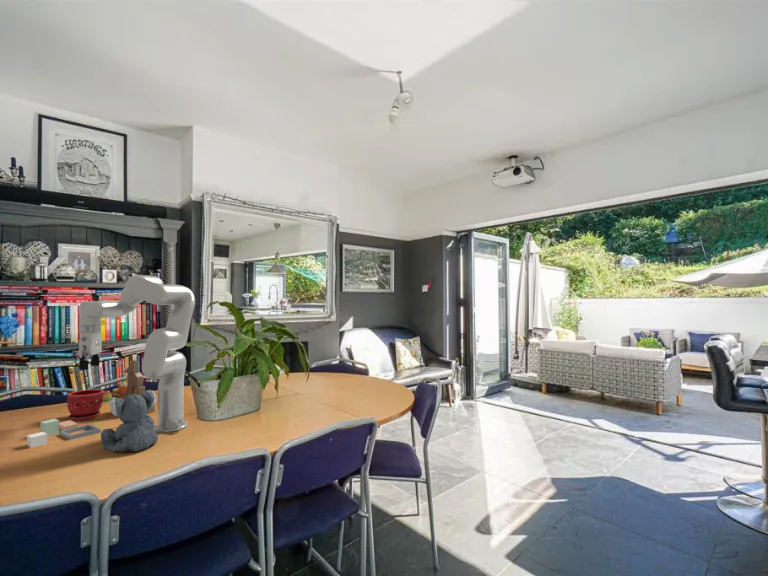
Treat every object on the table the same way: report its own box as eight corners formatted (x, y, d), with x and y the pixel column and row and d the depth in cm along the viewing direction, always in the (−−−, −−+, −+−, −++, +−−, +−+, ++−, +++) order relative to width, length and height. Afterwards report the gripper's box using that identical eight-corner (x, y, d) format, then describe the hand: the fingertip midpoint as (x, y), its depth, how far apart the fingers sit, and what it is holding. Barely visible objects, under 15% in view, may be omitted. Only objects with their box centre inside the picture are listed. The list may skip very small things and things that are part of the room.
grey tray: (100, 433, 154) (100, 428, 154) (69, 441, 145) (69, 436, 145) (90, 428, 159) (90, 424, 159) (59, 436, 151) (59, 431, 151)
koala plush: (150, 433, 153) (151, 384, 153) (169, 444, 141) (169, 391, 142) (98, 447, 139) (98, 393, 140) (114, 460, 128) (114, 401, 128)
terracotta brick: (77, 431, 158) (77, 423, 158) (64, 434, 154) (64, 426, 154) (69, 427, 163) (69, 420, 163) (56, 430, 159) (56, 423, 159)
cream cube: (46, 446, 141) (47, 434, 141) (30, 450, 137) (30, 437, 137) (42, 443, 143) (42, 431, 143) (26, 447, 140) (26, 435, 140)
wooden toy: (155, 411, 183) (156, 359, 183) (142, 415, 176) (143, 361, 177) (132, 408, 188) (132, 357, 188) (119, 412, 182) (119, 359, 182)
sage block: (59, 435, 152) (59, 420, 152) (44, 439, 148) (44, 423, 148) (54, 433, 154) (54, 418, 154) (40, 436, 150) (40, 421, 151)
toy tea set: (120, 393, 221) (121, 376, 221) (141, 395, 216) (141, 377, 216) (72, 405, 196) (72, 386, 196) (94, 407, 191) (94, 388, 191)
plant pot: (83, 423, 166) (83, 396, 166) (59, 422, 168) (59, 394, 169) (110, 414, 179) (110, 388, 179) (87, 413, 181) (87, 387, 182)
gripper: (90, 330, 162) (89, 371, 161) (109, 327, 179) (108, 364, 178) (69, 330, 160) (68, 371, 160) (90, 327, 177) (89, 364, 176)
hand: (89, 367), depth 169 cm, fingers open, 9 cm apart
